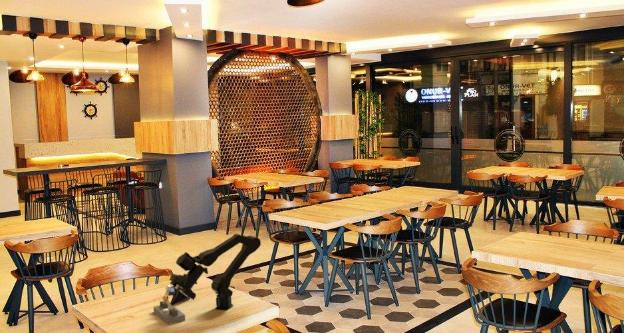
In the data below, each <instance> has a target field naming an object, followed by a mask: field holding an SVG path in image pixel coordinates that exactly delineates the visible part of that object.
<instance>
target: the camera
mask: <svg viewBox="0 0 624 333" xmlns="http://www.w3.org/2000/svg"><path fill="white" fill-rule="evenodd" d="M170 286H171V285H170ZM173 287H174V286H173V285H172V286H171V290H170V291H169V294H168V296H173V295H174V288H173Z"/></svg>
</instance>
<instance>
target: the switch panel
mask: <svg viewBox="0 0 624 333" xmlns="http://www.w3.org/2000/svg"><path fill="white" fill-rule="evenodd" d="M162 303H163V300H161V301H159V305H155V306H153V307H152V308H153V312H154V314H155V315H157V317H159V319H161V320H162V321H164V323H166V324H167V325H171V323H172V324H175V322H176V323H179V321H180V322H184V321H186V315H185V313H183V311H181V310H179V308H177V307H176V306H175V305H173V306H172V305H171V306H172V307H173V309H174V311H172V313H171V310H170V309H169V307H168V305H167V303H163V304H162ZM183 320H184V321H183Z"/></svg>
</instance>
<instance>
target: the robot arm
mask: <svg viewBox="0 0 624 333" xmlns="http://www.w3.org/2000/svg"><path fill="white" fill-rule="evenodd" d="M261 242H262V241H261V239H260V238H259V237H257V236H254V235H251V234H250V235H242V234H239V233H234V234H233V235H232V236H230V237H229V238H228V239H226V240H224V241H223V242H221V243H219V244H218V245H216V246H215V247H213V248H210V249H206V250H204V251H201V252H200V253H199V254H198V255H195V256H192V255H190V254H189V253H188V252H187V251H185V252H184V253H182V254H181V255H180V256H179V257H177V260H176V261H175V264H176V265H177V266H179V267H180V268H181V269H182V270H184V271H185V272H187V273H184V274H176V273H173V272H172V273H171V275H170V277H169V281H170V283H169V285H172V286H174V287H175V288H174V287H173V288H174V295H172V297H171V300H170V301H169V302H170V304H171V305H172V306H175V305H178V304H177V303H179V302H180V301H182V300H184V299H186V298H188V297H187V296H189V297H190V300H193V301H194V300H195V299H196V297H197V294H196V293H195V292H194V291H193V290H192V289H193V287H194V285H198V280H199V279H200V277H201V276H202V275H203V274H206V275H208V274H209V270H208V267H210V266H212V265H213V264H214V263H215V262H216V261H217V260H218V258H220V257H221V255H224V254H225V253H226V252H228V251H230V250H231V249H232V248H234V247H235V246H238V245H239V244H242V245H241V249H240V251H239V252H238V253H237V255H236V256H235V257H234V258H233V260H232V261H231V263H230V264H229V265H228V267H226V269H225V271H224V272H223V273H221V274H218V273H217V274H216V275H215V277H214V278H213V279H212V280H211V281H212V282H211V289H212V291H213V292H214V293H215V294H216V298H215V306H216V307H215V309H216V310H224V311H227V310H230V309H231V308H232V307H233V306H234V304H233V303H232V296H233V294H234V292H233V290H231V289H230V286H231V282H232V279H233V277H234V276H235V275H236V274H237V272H238V271H239V270H240V268H241V267H242V265H243V264H244V263H245V261H246V260H247V259H248V257H249V256H250V255H252V254H253V253H256V251H257V250H258V249H260V246H261V245H262V244H261Z"/></svg>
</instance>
